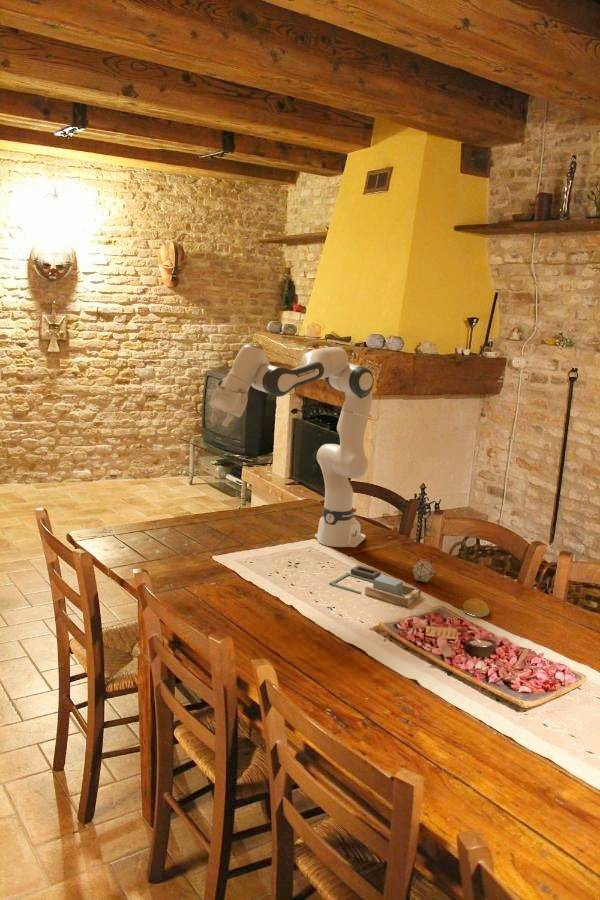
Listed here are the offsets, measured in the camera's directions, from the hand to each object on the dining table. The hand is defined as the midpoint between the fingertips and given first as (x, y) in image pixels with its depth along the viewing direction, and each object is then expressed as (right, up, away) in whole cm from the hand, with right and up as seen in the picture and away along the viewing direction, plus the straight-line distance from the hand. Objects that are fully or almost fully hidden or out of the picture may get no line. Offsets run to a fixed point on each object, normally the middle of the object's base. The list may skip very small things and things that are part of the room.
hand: (218, 424), depth 252 cm
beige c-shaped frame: (+59, -57, -7) cm, 83 cm away
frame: (+47, -55, +1) cm, 72 cm away
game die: (+71, -56, +7) cm, 91 cm away
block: (+57, -57, -6) cm, 81 cm away
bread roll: (+85, -61, -15) cm, 106 cm away
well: (+51, -54, +9) cm, 75 cm away
